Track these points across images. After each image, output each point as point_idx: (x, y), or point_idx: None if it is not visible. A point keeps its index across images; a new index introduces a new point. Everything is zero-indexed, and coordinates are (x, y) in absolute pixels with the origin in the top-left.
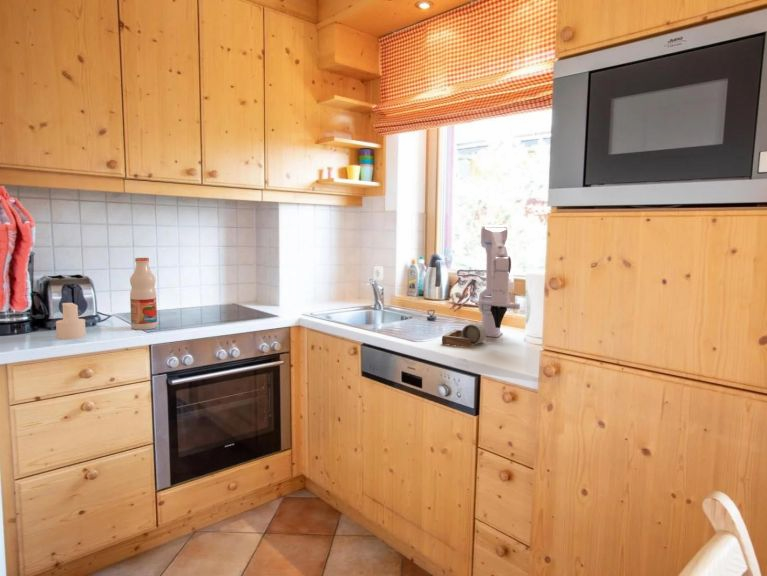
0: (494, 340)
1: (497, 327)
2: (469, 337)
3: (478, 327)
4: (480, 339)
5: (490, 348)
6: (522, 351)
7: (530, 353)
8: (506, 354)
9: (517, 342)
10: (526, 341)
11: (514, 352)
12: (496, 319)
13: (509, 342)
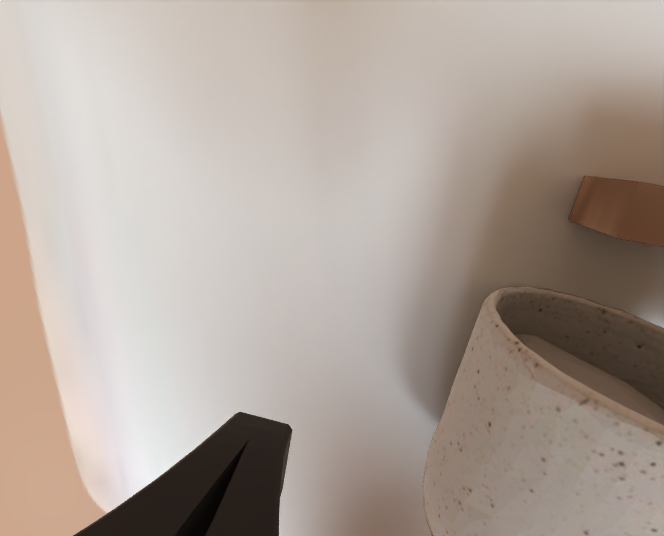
0: (351, 515)
1: (258, 418)
2: (616, 378)
3: (574, 409)
4: (483, 302)
5: (366, 220)
6: (100, 205)
7: (33, 155)
8: (199, 14)
9: None
10: None
11: (149, 138)
12: (217, 524)
13: None
